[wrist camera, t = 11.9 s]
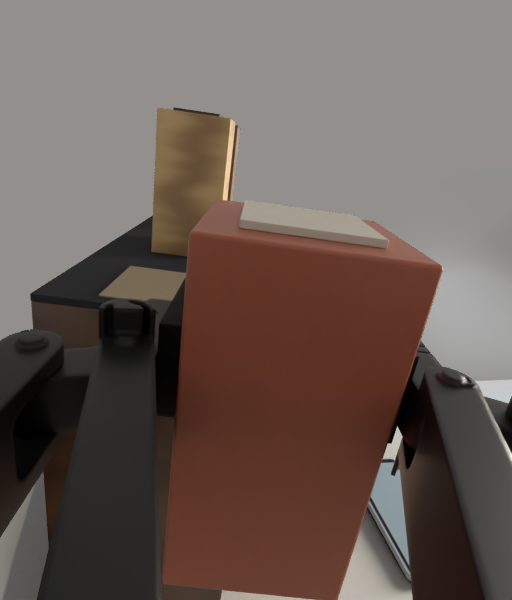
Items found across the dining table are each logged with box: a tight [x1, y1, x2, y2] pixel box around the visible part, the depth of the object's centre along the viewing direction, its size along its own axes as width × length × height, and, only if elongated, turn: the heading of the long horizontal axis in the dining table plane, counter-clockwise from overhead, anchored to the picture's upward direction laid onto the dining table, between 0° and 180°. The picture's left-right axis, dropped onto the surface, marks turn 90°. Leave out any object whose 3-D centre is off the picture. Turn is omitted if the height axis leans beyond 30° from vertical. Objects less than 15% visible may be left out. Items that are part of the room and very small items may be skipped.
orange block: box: [162, 199, 443, 600], centre depth 12 cm, size 5×5×10 cm
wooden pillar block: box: [151, 108, 235, 257], centre depth 31 cm, size 5×5×10 cm
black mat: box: [30, 216, 187, 309], centre depth 33 cm, size 12×26×1 cm, turn 0°
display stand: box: [31, 301, 222, 600], centre depth 38 cm, size 12×26×28 cm, turn 0°
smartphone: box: [367, 458, 411, 581], centre depth 45 cm, size 7×1×15 cm
